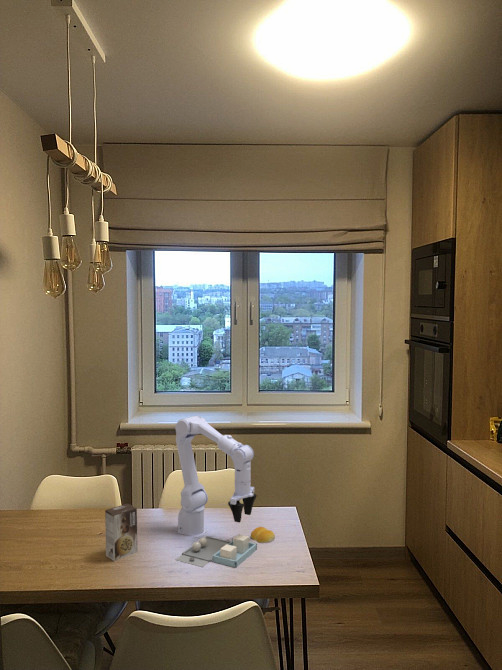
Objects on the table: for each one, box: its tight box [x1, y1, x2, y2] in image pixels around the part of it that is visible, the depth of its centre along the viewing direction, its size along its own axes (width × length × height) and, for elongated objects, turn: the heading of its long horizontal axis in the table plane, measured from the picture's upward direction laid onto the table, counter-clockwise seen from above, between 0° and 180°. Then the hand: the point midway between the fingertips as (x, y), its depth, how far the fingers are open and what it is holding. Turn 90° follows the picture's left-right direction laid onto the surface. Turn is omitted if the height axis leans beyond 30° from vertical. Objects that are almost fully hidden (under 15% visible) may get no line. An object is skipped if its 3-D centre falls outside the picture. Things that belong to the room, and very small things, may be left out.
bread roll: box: [250, 526, 276, 544], centre depth 192 cm, size 8×9×4 cm
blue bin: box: [212, 539, 258, 569], centre depth 178 cm, size 9×15×2 cm, turn 152°
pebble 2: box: [197, 536, 207, 547], centre depth 184 cm, size 3×3×3 cm
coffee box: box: [104, 503, 139, 562], centre depth 179 cm, size 9×6×16 cm
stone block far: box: [232, 533, 250, 554], centre depth 182 cm, size 4×4×4 cm
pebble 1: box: [191, 541, 201, 552], centre depth 181 cm, size 3×3×3 cm
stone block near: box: [220, 544, 237, 560], centre depth 173 cm, size 4×4×4 cm
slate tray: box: [174, 535, 232, 568], centre depth 181 cm, size 12×20×1 cm, turn 152°
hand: (242, 518), depth 185 cm, fingers open, 7 cm apart
